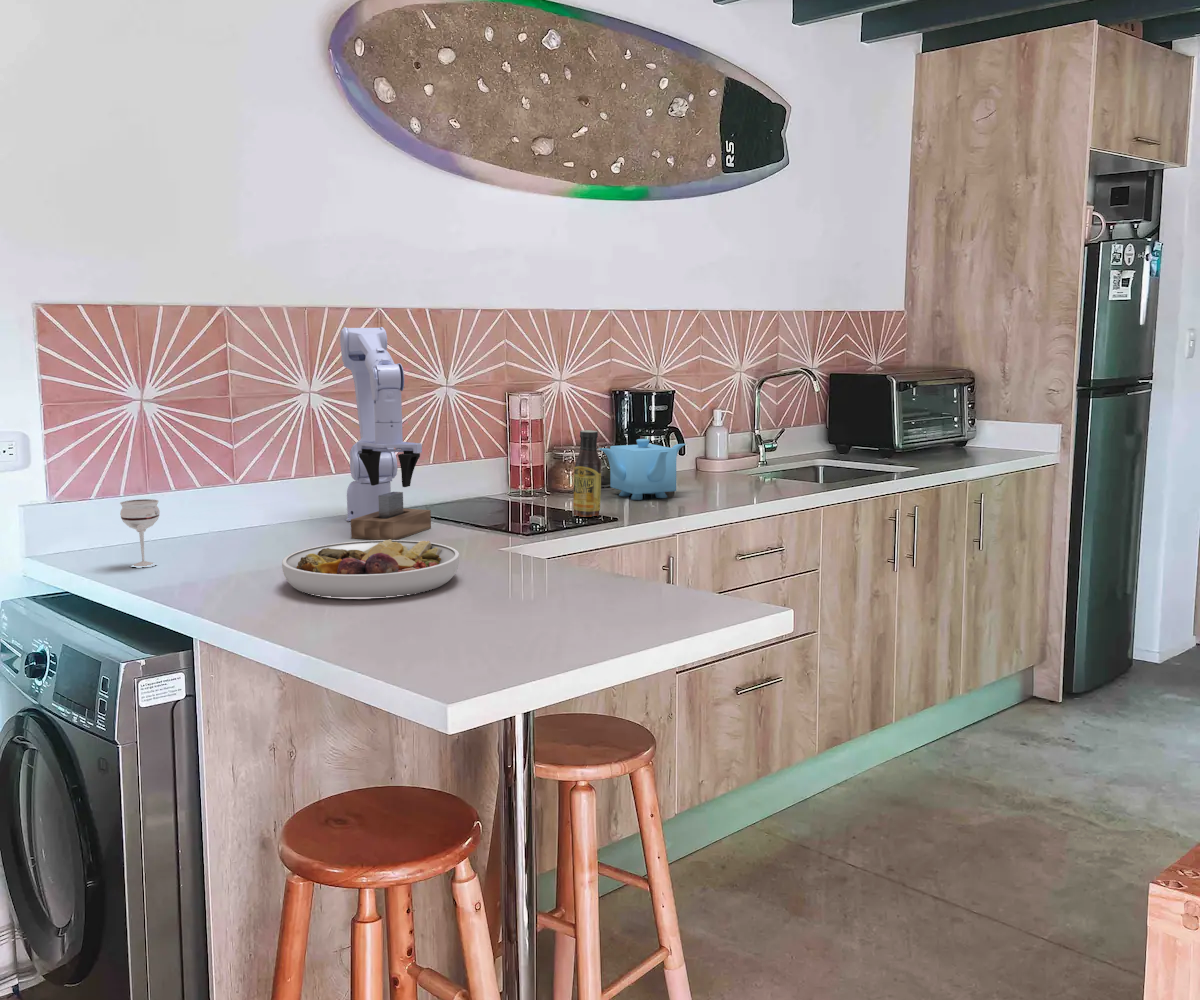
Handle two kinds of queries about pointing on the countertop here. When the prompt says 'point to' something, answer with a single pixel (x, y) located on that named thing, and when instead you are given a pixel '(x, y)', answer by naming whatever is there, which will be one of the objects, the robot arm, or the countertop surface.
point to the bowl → (371, 568)
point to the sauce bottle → (587, 477)
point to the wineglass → (140, 519)
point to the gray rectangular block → (390, 505)
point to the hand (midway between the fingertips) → (390, 485)
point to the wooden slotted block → (390, 525)
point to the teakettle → (642, 469)
